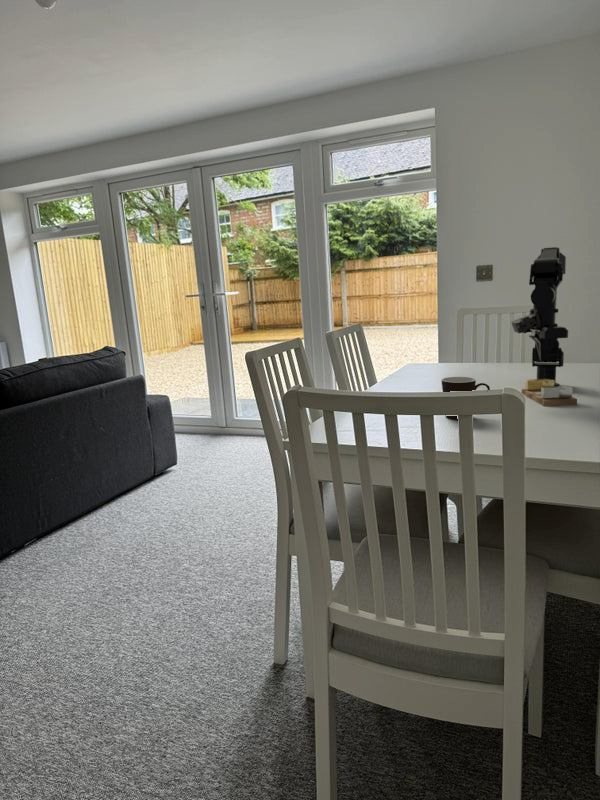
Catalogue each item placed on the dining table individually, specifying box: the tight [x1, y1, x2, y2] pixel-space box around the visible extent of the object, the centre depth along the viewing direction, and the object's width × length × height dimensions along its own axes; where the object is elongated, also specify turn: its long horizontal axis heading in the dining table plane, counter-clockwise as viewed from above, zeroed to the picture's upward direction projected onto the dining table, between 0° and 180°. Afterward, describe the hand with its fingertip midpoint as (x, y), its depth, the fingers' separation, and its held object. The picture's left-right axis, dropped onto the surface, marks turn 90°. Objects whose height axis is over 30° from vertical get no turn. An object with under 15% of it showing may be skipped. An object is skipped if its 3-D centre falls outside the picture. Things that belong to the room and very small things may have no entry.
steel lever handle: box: [541, 385, 573, 398], centre depth 159 cm, size 8×4×3 cm, turn 89°
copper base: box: [521, 388, 578, 407], centre depth 165 cm, size 17×9×2 cm, turn 179°
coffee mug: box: [440, 376, 491, 421], centre depth 148 cm, size 12×9×10 cm
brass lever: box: [524, 378, 555, 390], centre depth 170 cm, size 8×4×3 cm, turn 89°
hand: (542, 360), depth 163 cm, fingers closed
